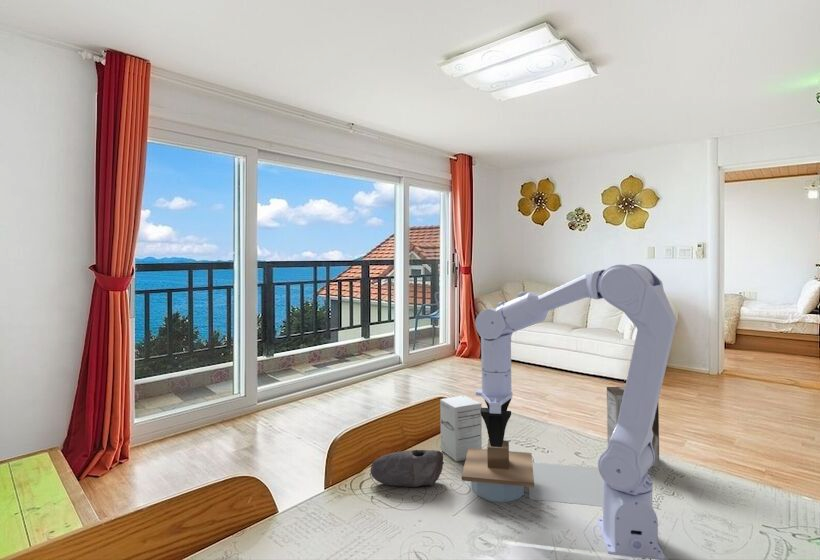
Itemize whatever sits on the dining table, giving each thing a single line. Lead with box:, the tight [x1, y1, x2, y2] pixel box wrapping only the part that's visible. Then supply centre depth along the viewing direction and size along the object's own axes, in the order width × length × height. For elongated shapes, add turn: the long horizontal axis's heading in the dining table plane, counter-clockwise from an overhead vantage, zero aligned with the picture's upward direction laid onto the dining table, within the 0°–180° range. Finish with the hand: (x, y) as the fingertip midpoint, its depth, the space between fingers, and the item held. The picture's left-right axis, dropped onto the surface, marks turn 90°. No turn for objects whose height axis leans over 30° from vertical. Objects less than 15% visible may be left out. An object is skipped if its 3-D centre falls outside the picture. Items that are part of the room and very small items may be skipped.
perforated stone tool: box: [370, 449, 445, 488], centre depth 90 cm, size 15×5×7 cm, turn 84°
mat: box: [528, 461, 603, 507], centre depth 89 cm, size 16×16×1 cm
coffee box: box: [606, 386, 660, 467], centre depth 99 cm, size 9×6×16 cm
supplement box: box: [439, 395, 483, 463], centre depth 105 cm, size 7×7×13 cm
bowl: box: [470, 481, 525, 503], centre depth 87 cm, size 10×10×4 cm
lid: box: [461, 438, 534, 488], centre depth 87 cm, size 13×13×5 cm
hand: (497, 438), depth 87 cm, fingers open, 7 cm apart
